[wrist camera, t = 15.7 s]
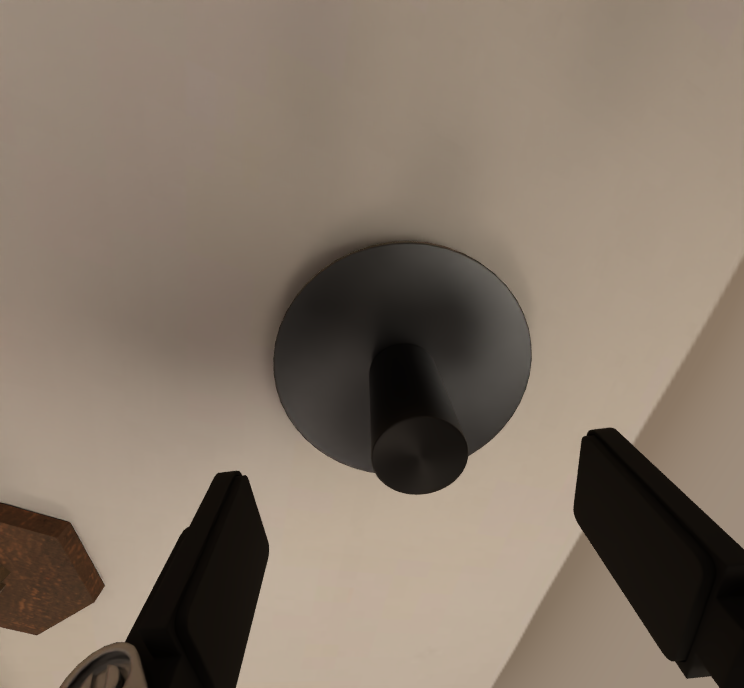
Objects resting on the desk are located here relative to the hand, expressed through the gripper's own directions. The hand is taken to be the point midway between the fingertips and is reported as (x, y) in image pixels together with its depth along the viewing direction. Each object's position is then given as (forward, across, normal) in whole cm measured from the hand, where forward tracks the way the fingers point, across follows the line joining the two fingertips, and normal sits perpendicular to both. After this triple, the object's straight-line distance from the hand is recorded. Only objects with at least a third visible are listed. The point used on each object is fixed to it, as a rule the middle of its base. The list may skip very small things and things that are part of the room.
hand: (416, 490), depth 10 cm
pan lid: (+7, 0, 0) cm, 7 cm away
